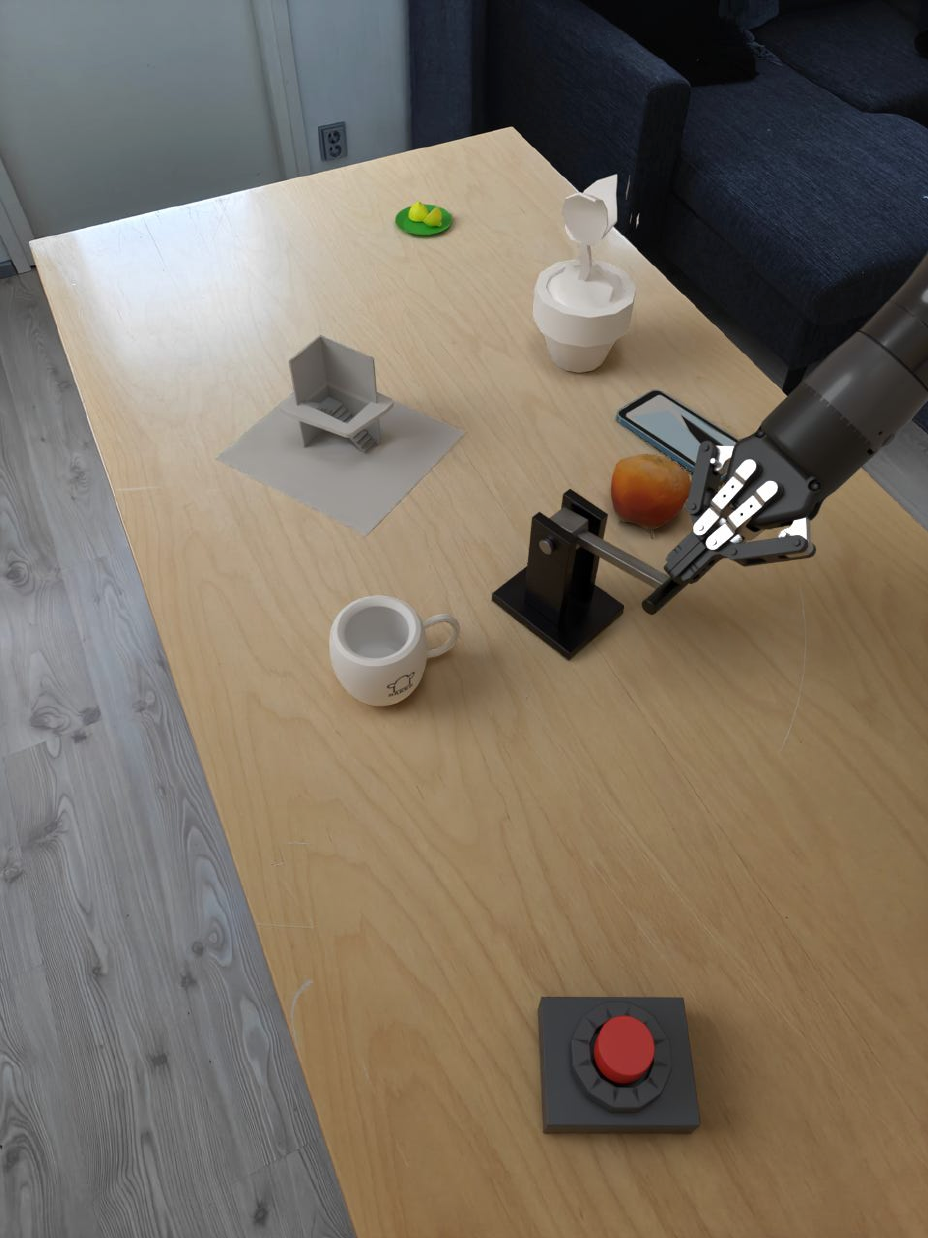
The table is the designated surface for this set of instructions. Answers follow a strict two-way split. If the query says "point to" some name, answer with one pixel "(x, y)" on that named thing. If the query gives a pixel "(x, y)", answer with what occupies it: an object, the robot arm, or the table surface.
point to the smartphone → (672, 427)
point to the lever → (621, 561)
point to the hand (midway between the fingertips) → (673, 577)
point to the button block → (597, 1102)
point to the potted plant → (585, 286)
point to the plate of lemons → (423, 219)
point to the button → (624, 1049)
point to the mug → (383, 648)
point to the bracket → (561, 583)
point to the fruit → (648, 490)
